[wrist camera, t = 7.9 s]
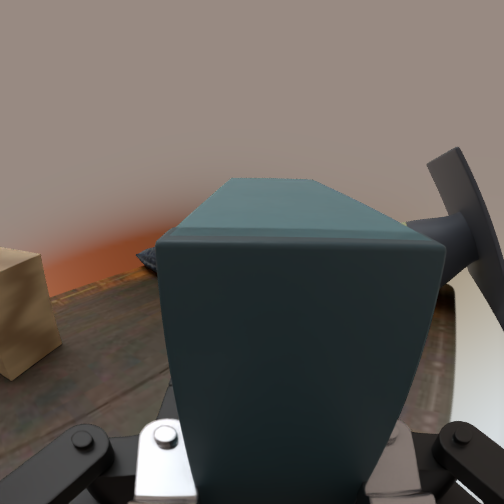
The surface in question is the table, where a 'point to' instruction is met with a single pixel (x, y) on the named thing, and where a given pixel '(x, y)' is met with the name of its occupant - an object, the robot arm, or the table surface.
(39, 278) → the birch box
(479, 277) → the graduation cap
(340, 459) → the teal rectangular block
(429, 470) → the robot arm
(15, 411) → the table surface
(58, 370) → the table surface
